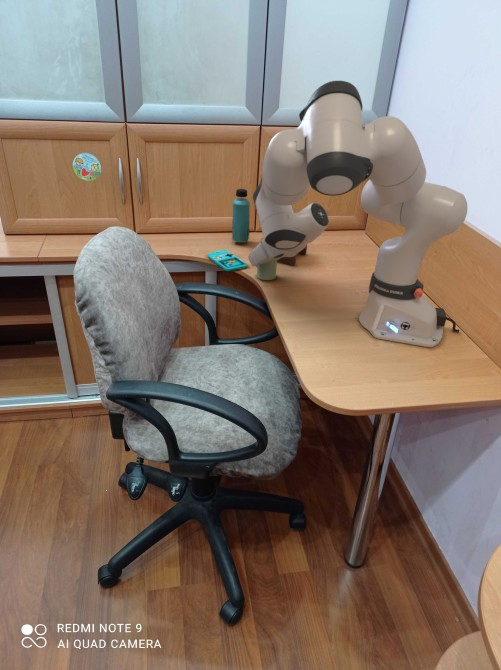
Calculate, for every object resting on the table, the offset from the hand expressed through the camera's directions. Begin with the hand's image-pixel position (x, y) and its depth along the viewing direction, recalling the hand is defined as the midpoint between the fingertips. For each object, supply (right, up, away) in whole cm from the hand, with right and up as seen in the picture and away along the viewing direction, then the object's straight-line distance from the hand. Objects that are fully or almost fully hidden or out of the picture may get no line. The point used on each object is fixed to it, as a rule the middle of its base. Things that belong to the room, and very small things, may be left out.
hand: (265, 261), depth 152 cm
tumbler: (0, -4, +2) cm, 5 cm away
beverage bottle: (-9, +11, +27) cm, 30 cm away
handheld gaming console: (-13, +2, +12) cm, 18 cm away
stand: (+7, +5, +18) cm, 20 cm away
